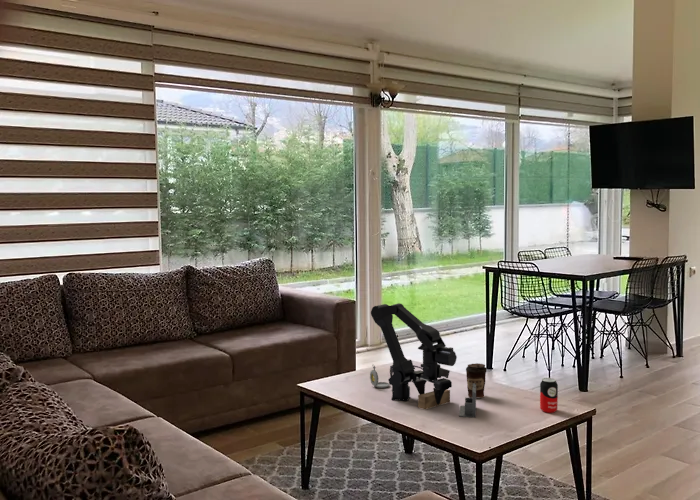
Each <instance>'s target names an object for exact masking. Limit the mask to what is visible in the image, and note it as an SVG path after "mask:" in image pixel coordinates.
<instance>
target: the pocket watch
mask: <svg viewBox="0 0 700 500" xmlns="http://www.w3.org/2000/svg"><path fill="white" fill-rule="evenodd" d="M372 368H373V369H372V370H370V372H369V379H370V383H371V385H372V386H374V387H375V388H377V389H384V388H385V389H386V388H388V387H390V384H389V382H385V381H380V382H379V374H378V371H377V370H376V365H374V364H372Z"/></svg>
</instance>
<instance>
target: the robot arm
mask: <svg viewBox="0 0 700 500" xmlns="http://www.w3.org/2000/svg"><path fill="white" fill-rule="evenodd" d="M370 315H371V318H372V319H373V321H374V323H375V324H376V325H377V326H379V327H380V330H381V332H382V335H383V337H384V340H385V343H386V347H387V350H388V351H389V354H390V357H391V359H392V365H393V368H392V370H393V374H392V376H391V377H389V378H388V383H389V386H392V387H391V390H392V391H391V392H392V394H391V395H392V397H391V400H392V401H405V402H406V401H408V400H409V399H410V397H411V387H410V385H409V383H413V385H414V387H415V389H416V390H417V393H418V395H421V394H425V393H426V392H425V391H426V389H425V388H426V383H427V382H429V383H432V384H433V388H432V389H433V390H432V391H434V395H435V399H436V403H437V404H440V401H441V399H442V396H443V393H444V391H445V390H446V389H447V390H450V388H452V386H453V385H452V384H453V383H452V381H451V380H450V379H449V376H450V372H451V370H449V369H446V368H443V367H441V365H443V366H449V367H453V366H455V364H456V362H457V358H458V357H457V354H456V352H455V351H454V347H447V345H446V343H445V341H444V340H443V339H442V337H441V333H440V332H439V330H438V329H436V328H435V327H433V326H431V325H428V324H426V323H424V322H422V321H421V320H420V319H419V318H418V317H417V316H415V314H413V313H412V312H411V311H409V310H408V309H407V308H406V307H405V306H404V304H402V303H400V302H399V303H395V304H392V305H389V304H387V303H383V304H378V305H374V306H373V307H372V308H371V310H370ZM393 315H395V317H396V318H398V319H399V321H401V322H403V323H404V325H406V326H407V327H408V328H409V329H411V331H413V332H414V334H415V336H416V338H417V340H418V341H419V342H420V343H421V344H420V345H419V346H418V347H417V350H420V351H422V363H420V367H421V368H423V370H422V369H420V370H416V367H414V366H413V365H414V364H413V361H412V359H407V358H406V357H405V355H404V352H403V348H402V346H401V344H400V342H399V338H398V335H397V332H396V330H395V328H394V325H393V319H394V316H393ZM442 377H443V378H442Z"/></svg>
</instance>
